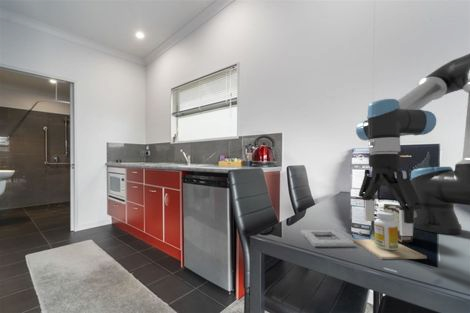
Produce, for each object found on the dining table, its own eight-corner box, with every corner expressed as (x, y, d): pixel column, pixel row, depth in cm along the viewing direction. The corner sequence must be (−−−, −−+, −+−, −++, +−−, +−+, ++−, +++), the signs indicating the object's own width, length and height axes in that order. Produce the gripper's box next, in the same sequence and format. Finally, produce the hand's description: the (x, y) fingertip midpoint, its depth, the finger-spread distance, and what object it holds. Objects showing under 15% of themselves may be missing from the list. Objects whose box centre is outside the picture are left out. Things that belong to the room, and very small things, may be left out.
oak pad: (390, 241, 65) (390, 239, 65) (426, 258, 53) (426, 256, 53) (353, 241, 64) (353, 239, 64) (381, 259, 52) (381, 256, 52)
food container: (428, 245, 61) (427, 212, 62) (404, 244, 62) (403, 211, 63) (403, 232, 73) (402, 204, 74) (383, 231, 74) (383, 203, 75)
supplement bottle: (397, 245, 59) (396, 211, 59) (399, 252, 55) (398, 216, 55) (375, 241, 62) (373, 209, 62) (375, 248, 58) (373, 213, 58)
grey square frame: (333, 232, 72) (333, 229, 72) (354, 246, 60) (354, 242, 60) (300, 233, 72) (300, 229, 72) (314, 246, 60) (314, 242, 60)
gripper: (346, 155, 72) (347, 216, 71) (408, 150, 47) (411, 244, 46) (367, 155, 72) (369, 216, 71) (440, 150, 47) (443, 243, 46)
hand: (385, 227), depth 59 cm, fingers open, 13 cm apart
